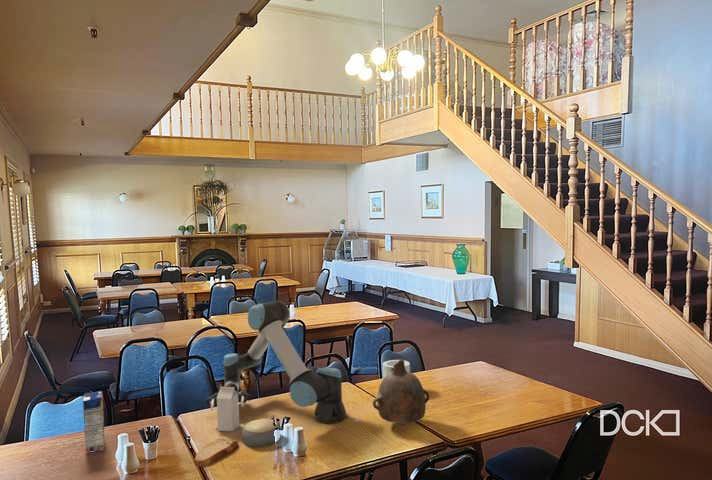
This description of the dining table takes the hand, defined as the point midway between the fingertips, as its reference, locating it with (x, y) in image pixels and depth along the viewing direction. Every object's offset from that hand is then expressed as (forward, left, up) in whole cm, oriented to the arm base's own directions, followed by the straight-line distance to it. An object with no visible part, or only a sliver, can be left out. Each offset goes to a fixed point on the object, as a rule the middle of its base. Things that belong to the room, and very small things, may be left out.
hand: (227, 405), depth 223 cm
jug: (-76, -24, -11) cm, 80 cm away
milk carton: (-1, 0, -11) cm, 11 cm away
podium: (-22, +6, -10) cm, 25 cm away
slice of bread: (-11, +23, -11) cm, 28 cm away
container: (-61, -69, -11) cm, 92 cm away
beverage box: (+44, +32, -11) cm, 56 cm away
